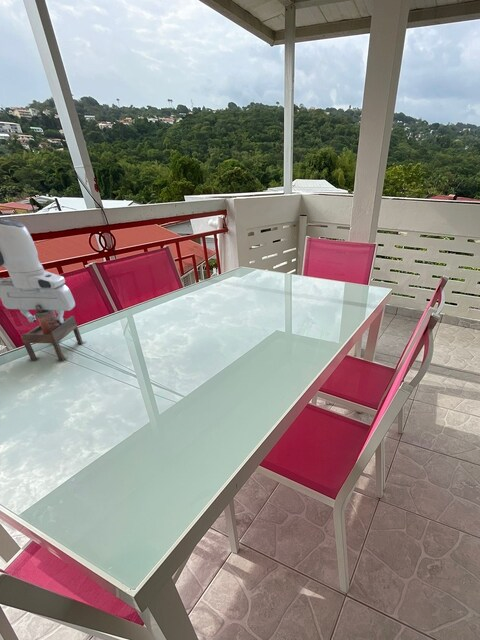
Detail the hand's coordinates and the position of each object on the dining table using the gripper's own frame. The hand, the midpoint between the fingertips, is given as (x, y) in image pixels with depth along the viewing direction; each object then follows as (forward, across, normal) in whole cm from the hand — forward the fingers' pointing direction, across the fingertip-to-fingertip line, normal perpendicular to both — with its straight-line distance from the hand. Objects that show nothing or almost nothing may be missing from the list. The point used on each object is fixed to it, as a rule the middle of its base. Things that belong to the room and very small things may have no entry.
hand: (46, 322), depth 109 cm
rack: (+11, 0, 0) cm, 11 cm away
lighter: (+4, +1, 0) cm, 4 cm away
